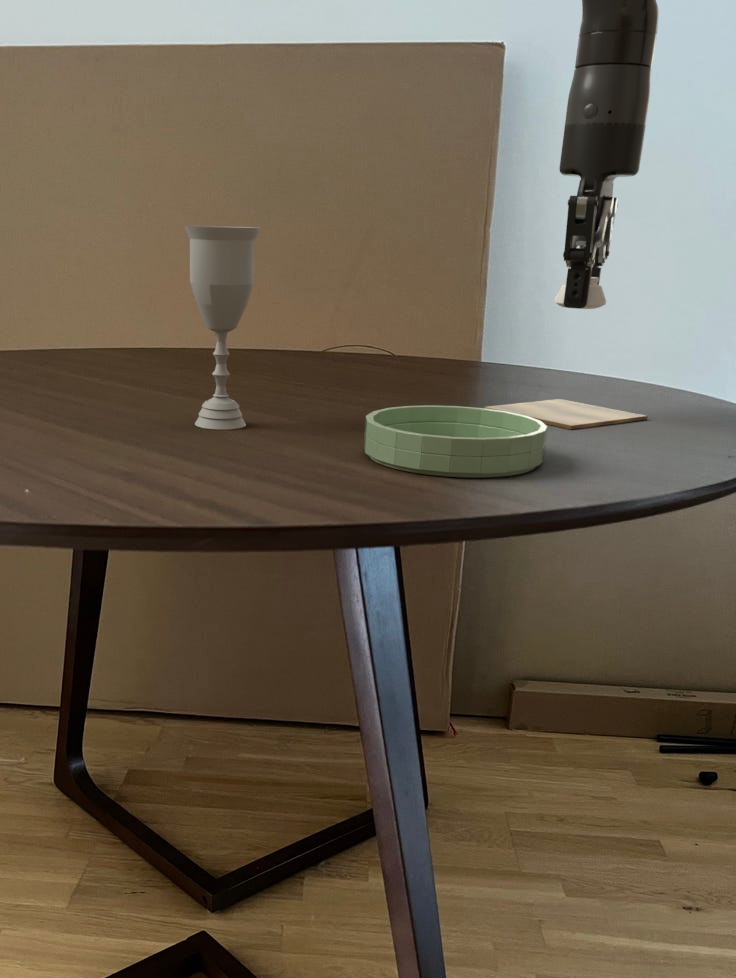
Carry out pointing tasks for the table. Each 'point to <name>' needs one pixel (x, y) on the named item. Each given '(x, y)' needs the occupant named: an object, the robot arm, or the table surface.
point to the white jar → (594, 296)
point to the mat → (569, 413)
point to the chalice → (221, 303)
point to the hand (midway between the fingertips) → (579, 305)
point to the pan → (455, 441)
